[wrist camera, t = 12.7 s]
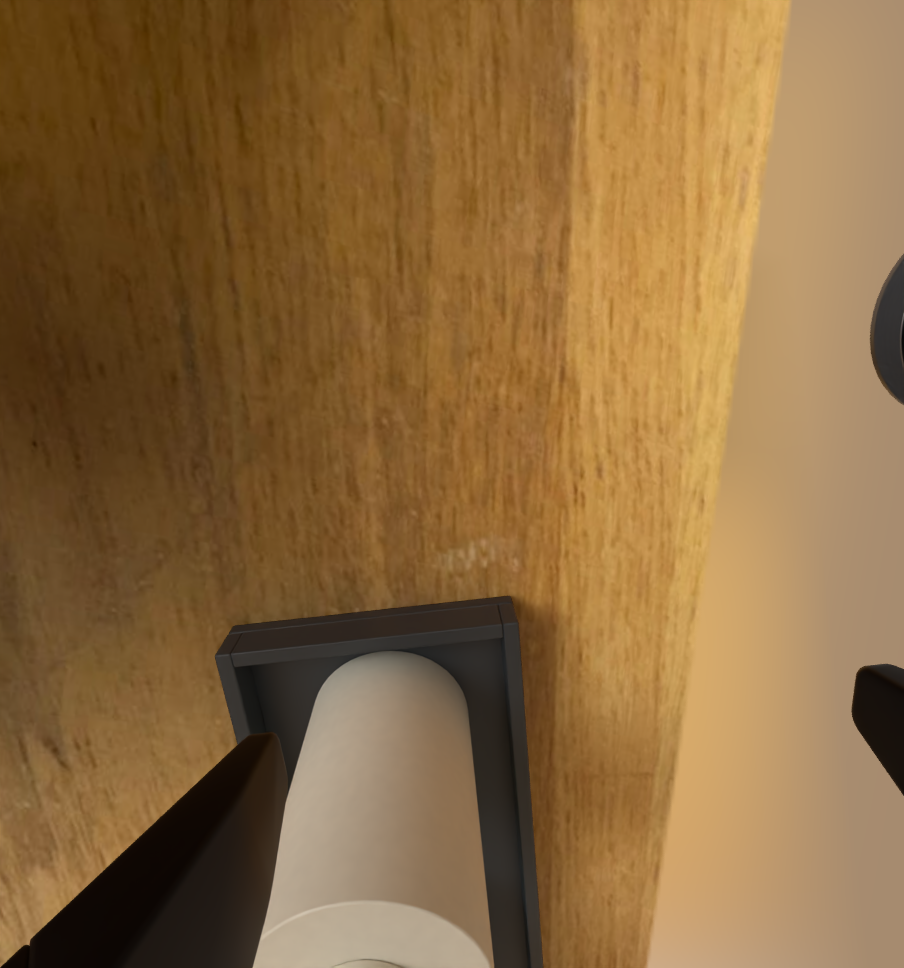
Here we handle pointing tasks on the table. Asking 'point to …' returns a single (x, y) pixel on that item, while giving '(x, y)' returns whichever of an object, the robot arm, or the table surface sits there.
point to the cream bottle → (381, 828)
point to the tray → (491, 708)
